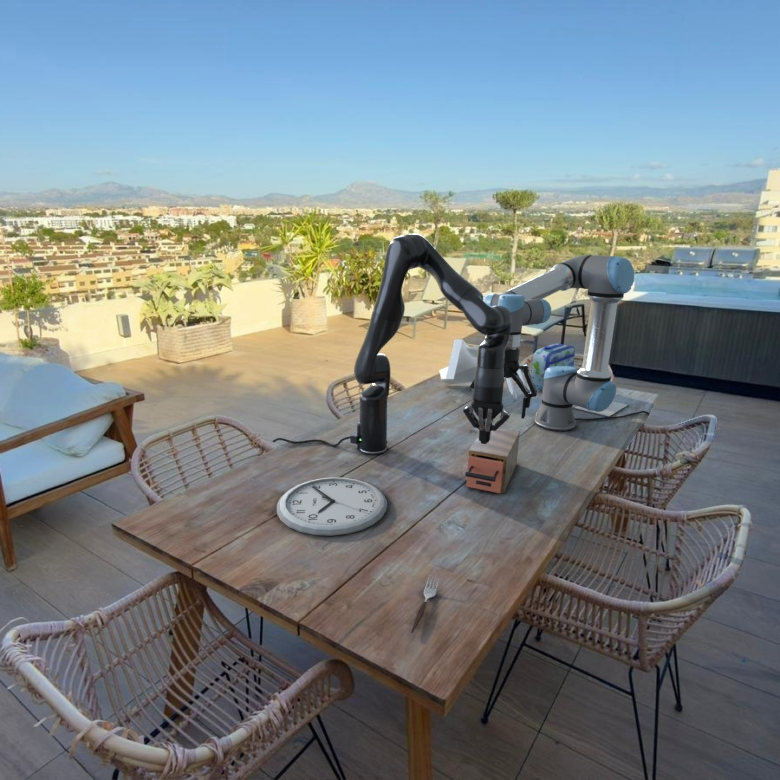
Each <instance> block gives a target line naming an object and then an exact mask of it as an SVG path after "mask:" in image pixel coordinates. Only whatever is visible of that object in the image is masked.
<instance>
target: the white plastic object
mask: <svg viewBox="0 0 780 780" xmlns="http://www.w3.org/2000/svg"><path fill="white" fill-rule="evenodd" d="M479 345H480V344H479ZM479 345H473V346H469V345H468V343H466V342H465V340H464V339H463V338H460V339H458V338H454V340H453V344H452V349H451V353H450V357H449V362H448V366H446V367H444V368H442V369H440V370H439V371H438V372H439V376H440V381H442V383H443V384H444V385H445V386H449V385H458V384H467V383H468V384H469V383H472V382H473V380H474V379H475V372H476V367H477V354H478V348H479ZM519 365H521V362H520V361H519ZM517 374H518V375H519V377H520V379H521V380H522V381H523V383H524V384H525V386H526V387H527V388H528V389H529V386H528V383H527V381H526V378H525V376H524V373H523V372H522V371H521V369H519V370H518V371H517ZM505 380H506V383H507V386H508V390H509V393H510V394H511V395H512V397H513V398H514V399H515V400H517V392H516V391H517V390H516V388H515V385H514V380H513V379H512V377H511V378H505Z"/></svg>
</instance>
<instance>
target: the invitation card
mask: <svg viewBox="0 0 780 780" xmlns="http://www.w3.org/2000/svg"><path fill="white" fill-rule="evenodd" d="M628 406H629V404H627V403H623V402H618V401H614V400H613V401H612V403H611V404H610V405H609V407H608V408H607V409H605V410H604V411H601V412H596V411H592V410H587V409H585V408H582V407H579V406H576V405H575V406H574V407H573V409H575V410H581V411H584V412H587V413H593V414H596V415H600V416H604V417H612V416H613V415H614V414H616V413H617V412H619V411H621V410H623V409H624V408H626V407H628Z"/></svg>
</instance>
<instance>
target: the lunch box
mask: <svg viewBox="0 0 780 780" xmlns="http://www.w3.org/2000/svg"><path fill="white" fill-rule="evenodd" d="M575 352H576V351H575V346H573V345H568V344H562V343H553V344H550V345H547V346H546V345H545V346H544V347H541V348H538V349H537V350H536V351H535V352H534V354H533V357H532V362H531V371H530V372H531V373H530V375H531V377H532V380H533V382H534V385H535V387H536V390H537V391H538V390H539V391H543V381H544V379H543V378H544V375H545V371H546V369H547V368H549V367H555V366H571V367H574V363H575Z"/></svg>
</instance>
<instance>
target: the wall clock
mask: <svg viewBox="0 0 780 780" xmlns="http://www.w3.org/2000/svg"><path fill="white" fill-rule="evenodd" d="M387 509H388V500H387V498H386V496H385V494H384V493H383V492H382V491H381V490H380V489H379V488H377V487H376V486H374V485H372V484H371V483H369V482H365V481H362V480H359V479H355V478H349V477H338V476H337V477H335V476H333V477H332V476H331V477H322V478H317V479H312V480H307V481H305V482H302V483H299V484H297V485H295V486H293V487H292V488H290V489H288V490H287V491H286V492H285V493H284V494H283V495H281V496H280V498H279V499H278V502H277V503H276V515H277V517H278V518H279V520H280V521H281V522H282V523H283V524H285V525H286V526H287V527H288V528H290V529H293V530H295V531H297V532H299V533H303V534H308V535H312V536H327V537H328V536H329V537H331V536H332V537H333V536H342V535H350V534H352V533H356V532H361V531H363V530H366V529H368V528H369V527H372V526H373V525H375V524H376V523H378V522H379V521H380V520H381V519H382V518H383V517H384V516H385V514H386V512H387Z"/></svg>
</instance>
